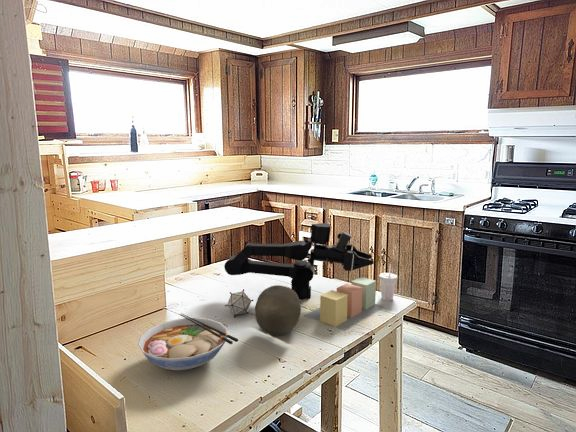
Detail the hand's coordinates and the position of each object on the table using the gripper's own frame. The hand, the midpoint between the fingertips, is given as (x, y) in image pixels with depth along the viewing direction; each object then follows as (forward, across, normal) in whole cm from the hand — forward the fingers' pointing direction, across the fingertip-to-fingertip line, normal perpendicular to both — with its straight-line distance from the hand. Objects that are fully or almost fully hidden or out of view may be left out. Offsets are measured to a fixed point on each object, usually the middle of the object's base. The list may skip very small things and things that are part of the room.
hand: (372, 259), depth 146 cm
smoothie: (+7, +4, +15) cm, 17 cm away
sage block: (-2, -3, +15) cm, 16 cm away
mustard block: (-11, -17, +17) cm, 27 cm away
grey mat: (-8, -9, +18) cm, 21 cm away
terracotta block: (-6, -10, +16) cm, 20 cm away
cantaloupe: (-27, -26, +21) cm, 43 cm away
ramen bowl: (-49, -44, +25) cm, 71 cm away
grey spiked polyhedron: (-42, -14, +22) cm, 49 cm away
